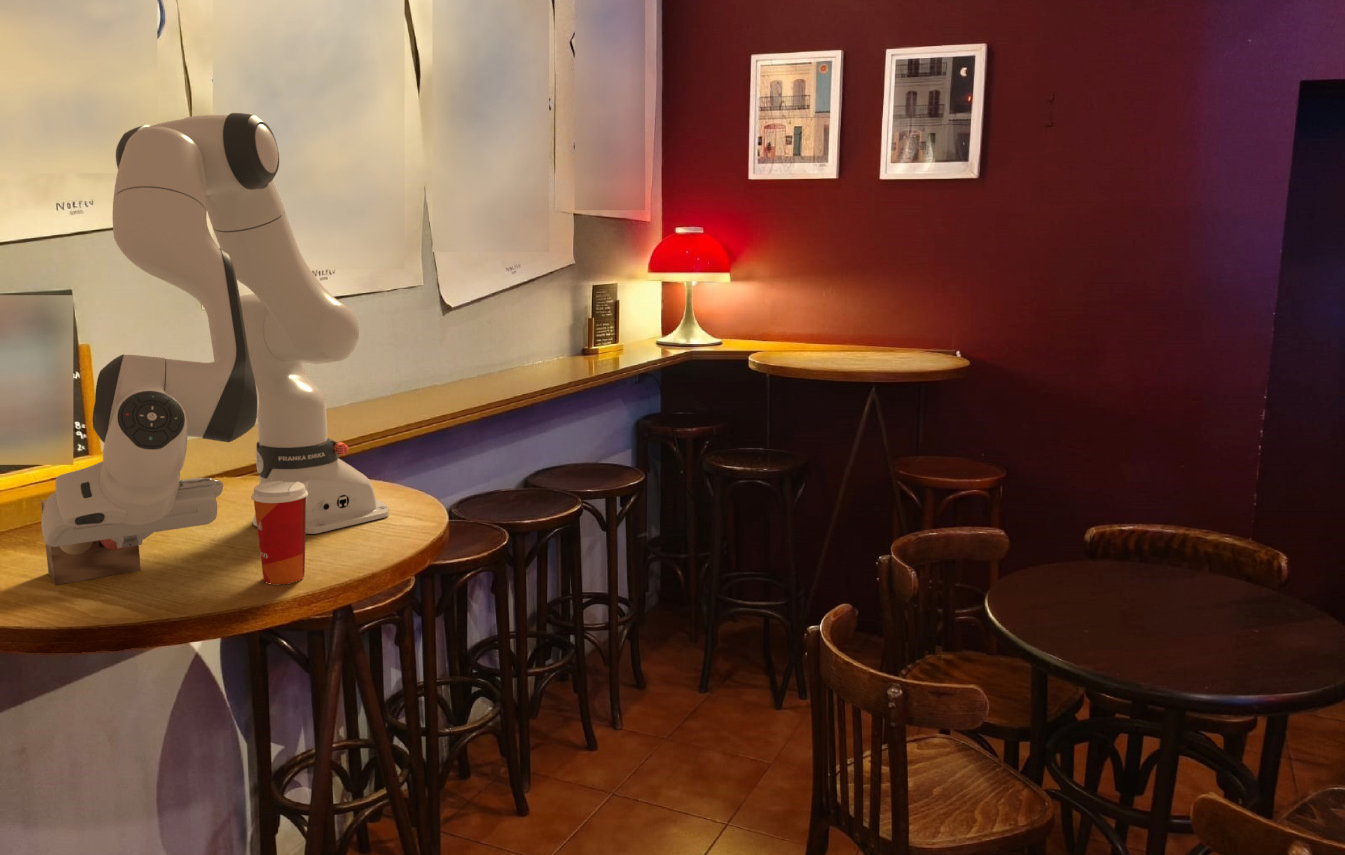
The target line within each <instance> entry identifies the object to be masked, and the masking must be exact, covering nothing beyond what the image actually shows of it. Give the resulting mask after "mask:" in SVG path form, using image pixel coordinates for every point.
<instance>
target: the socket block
mask: <svg viewBox="0 0 1345 855" xmlns="http://www.w3.org/2000/svg"><path fill="white" fill-rule="evenodd" d="M46 501H47V499H42V500H40V505H41V513H42V514H43V510H44V506H45V504H46ZM42 514H41V515H42ZM45 552H46V562H47V571H48V574H49V577H50V578H51V581H52V582H53V585H54V586H58V585H63V584H68V583H75V582H81V581H86V580H92V579H98V578H103V577H109V576H115V575H121V574H127V573H131V572H132V573H133V572H137V571H138V572H139V571H142V569H141V567H142V566H141V557H140V556H141V555H140V545H136V546H129V547H125V548H123V549H119V550H111V549H108V548H106V547H105V546H104V545H103V544H102V543H101V542H100V540H98V541H91V542H85V543H78V544H71V545H65V546H58V547H51V546H49V545H47V544H45Z"/></svg>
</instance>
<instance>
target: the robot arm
mask: <svg viewBox="0 0 1345 855" xmlns="http://www.w3.org/2000/svg"><path fill="white" fill-rule="evenodd" d="M115 162H116V163H115V164H116V166H117V173H116V178H115V185H114V192H113V201H112V229H113V230H112V231H113V233H112V234H113V238H114V241H115V244H116V246H118V248H119V250H120V251H121V253H123V255H124V256H125V257H126V258H127V259H128V260H129V261H130V262H131V263H133V264H134V265H135V266H136V267H137V268H139V269H140V270H142V271H143V272H145V273H146V274H149V275H150V276H153V277H155V278H157V279H159V280H162V281H165V282H167V283H168V284H170V285H172V286H175V287H177V288H179V289H180V290H182V291H183V292H185V293H188V294H189V295H190V296H192V297H193V298H194V299H196V300H197V301H198V302H199V303H200V304H201V305H202V306H203V309H205V313H206V314H207V315H206V316H207V322H208V328H209V332H210V334H209V335H210V340H211V347H212V355H213V361H212V362H201V361H191V360H181V359H172V358H171V359H170V358H166V357H165V358H164V357H157V356H149V355H140V354H138V355H137V354H121V355H119V356H116V357H115V358H114V359H112V360H110V362H108V364H106V365H105V366H104V367H102V369H101V370H100V371H99V373H98V376H97V380H96V386H95V399H94V401H95V402H94V406H93V410H92V411H93V412H92V428H93V430H94V432H95V434H97V437H98V438H99V440H101V442H102V443H103V450H102V451H103V452H102V461H99V462H98V463H95V464H92V465H90V466H88V467H84V468H80V469H78V470H77V469H76V470H74V471H70V472H67V473H63V474H60V475H58V476H57V477H56V478H55V491H54V492H53V493H51V494H50V495H49V496H48V498H47V499H46V500H47V501H46V504H45V506H44V510H43V514H41V524H40V525H41V530H42V536H43V537H42V538H43V540H44V543H45V545H46V544H47V545H49V546H51V547H58V546H65V545H71V544H78V543H85V542H91V541H98V540H105V539H111V540H113V541H115V542H116V544H117V548H124V547H129V546H136V545H139V546H141V545H142V544H143V541H144V540H145V539H147V538H148V537H149V536H151V535H152V534H154V533H158V532H166V531H173V530H178V529H185V528H193V527H199V526H200V527H201V526H205V525H210V524H211V523H213V522H214V521H216V519H217V517H218V502H217V498H218V497H220V495H221V494H222V492H223V489H224V483H223V482H222V480H218V479H217V480H216V479H213V477H193V478H186V479H181V471H182V469H184V468H183V467H184V464H185V461H186V455H187V449H188V437H191V438H192V437H193V438H202V439H204V440H211V441H218V442H224V443H230V442H234V441H235V440H237V439H239V438H241V437H242V436H243V435H245V434H247V433H248V432H249V431H250V430H252V428H253V427H255V426H256V424H257V433H258V441H257V442H256V444H255V445H256V447H255V448H256V452H255V462H256V471H257V475H258V476H259V478H258V480H259V481H258V485H260V484H263V483H267V482H273V481H283V482H285V481H293V482H294V483H296V482H301V483H303V484H304V486H305V489H306V491H307V492H308V495H307V496H306V529H305V534H310V535H312V534H313V535H314V534H315V535H316V534H320V533H323V532H329V531H332V530H333V531H334V530H338V529H341V528H346V527H350V526H354V525H358V524H362V523H366V522H367V523H368V522H371V521H374V520H376V521H377V520H379V519H382V518H383V519H384V518H387V517H388V516H389V515H390V511H389V506H388V505H387V504H386V503H384V502H383V501H382V500H380V499H378V498H376V495H375V491H374V487H373V484H372V482H371V481H370V479H369V478H368V477H367V476H366V475H365V474H363V473H362V472H360V471H358V470H357V469H356V468H355V467H353V466H352V465H350V464H348V463H347V462H345V461H343V460H342V459H340V458H339V456H345V455H347V454H348V453H349V450H350V448H349V446H348V445H347V444H346V443H344V442H342V441H339V442H338V441H336V440H333V439H331V438H329V437H328V422H327V421H328V418H327V401H326V396H325V394H324V393H323V391H322V389H321V388H320V387H319V386H317V385H316V384H315V383H314V382H313V381H312V380H311V379H310V378H309V376H308V374H307V373H306V370H305V369H304V366H303V363H304V364H311V365H312V364H313V365H322V364H330V363H335V362H340V361H341V362H342V361H344V360H346V359H348V358H349V357H350V356H351V355H352V354H353V352H354V350H355V349H356V347H357V345H358V341H359V337H360V336H359V335H360V326H359V323H358V320H357V317H356V316H355V313H354V312H353V310H352V309H351V308H350V307H348V306H347V305H346V304H344V303H343V302H341V301H339V300H338V299H337V298H336V297H334V296H333V295H332V294H331V293H330V292H329V291H328V289H326V288H325V286H324V285H323V284H322V283H321V282H320V280H319V279H318V278H317V276H315V274H314V273H313V271H312V270H311V269H310V267H309V266H308V264H307V262H306V261H305V259H304V257H303V256H302V253H301V252H300V249H299V246H298V243H297V240H296V238H295V235H294V233H293V230H292V228H291V225H290V222H289V219H288V217H287V213H286V210H285V208H284V205H283V202H282V199H281V197H280V195H279V192H278V190H277V188H276V185H275V184H274V181H273V180H274V179H275V176H276V175H277V173H278V170H279V167H280V153H279V147H278V143H277V140H276V137H275V135H274V133H273V131H272V129H271V128H270V126H269V125H268V124H267V123H266V122H265V121H263V119H261V118H260V117H258V116H257V115H255V114H249V113H244V112H232V113H229V114H213V115H212V114H207V115H206V114H205V115H195V116H194V115H193V116H192V115H191V116H187V117H185V118H181V119H175V120H171V121H165V122H161V123H156V124H153V125H150V124H144V125H140V126H137V127H134V128H131V129H129V130H128V131H126V132H124V134H123V135H122V136H121V138H120V139H119V141H118V143H117V146H116V149H115ZM207 215H208V218H209V222H210V223H211V224H210V225H211V227H212V230H213V233H214V235H215V238H216V241H217V243H218V245H217V244H216V242H215V239H213V236H212V234H211V232H210V230H209V226H208V222H207ZM238 282H239V283H241V284H242V285H244V286H245V287H246V288H248V289H249V290H250V291H251V292H252V293H251V294H244V295H240V291H239V284H238ZM256 422H257V423H256ZM252 524H253V526H255V527H256V528H257V523H256V514H255V513H254V516H253V520H252Z"/></svg>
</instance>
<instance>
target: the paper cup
mask: <svg viewBox="0 0 1345 855" xmlns="http://www.w3.org/2000/svg"><path fill="white" fill-rule="evenodd" d="M307 495H308V492H307V491H306V489H305V486H304V484H303V483H301V482H296V483H294V482H293V481H285V482H283V481H273V482H267V483H263V484H260V485H259V484H257V485H256V486H254V488H253V493H252V494H251V496H250V498H251V500H252V501H253V506H254V515H255V514H256V523H257V527H256V530H257V537H258V546H259V547H258V548H259V554H260V555H259V556H260V563H261V570H262V576H263V580H264V583H266V582H267V583H271V584H278V585H277V586H280V585H279V584H283V585H282V586H284V584H287V585H289V584H288V583H293V582H296V581H299V580H301V579H302V578H303V577H304V578H305V572H306V571H305V567H306V566H305V565H306V564H305V563H306V533H305V529H306V496H307ZM304 578H303V579H304ZM303 579H302V580H303ZM302 580H301V581H302ZM299 582H300V581H299ZM267 583H266V584H267ZM296 583H297V582H296ZM271 584H270V585H271ZM293 584H294V583H293Z"/></svg>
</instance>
